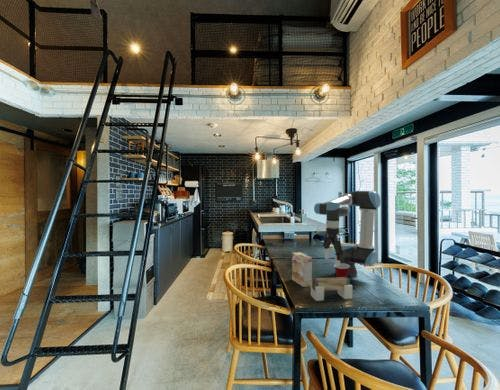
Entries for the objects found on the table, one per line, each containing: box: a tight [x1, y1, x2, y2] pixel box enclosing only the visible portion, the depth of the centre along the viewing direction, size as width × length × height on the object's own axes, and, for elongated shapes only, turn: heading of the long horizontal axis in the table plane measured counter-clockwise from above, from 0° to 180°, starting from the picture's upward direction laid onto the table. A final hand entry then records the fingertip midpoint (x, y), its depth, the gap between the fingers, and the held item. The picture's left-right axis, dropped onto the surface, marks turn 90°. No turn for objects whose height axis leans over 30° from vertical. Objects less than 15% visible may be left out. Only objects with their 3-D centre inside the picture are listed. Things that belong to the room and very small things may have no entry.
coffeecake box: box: [291, 251, 313, 288], centre depth 172 cm, size 15×7×20 cm, turn 21°
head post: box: [310, 282, 325, 302], centre depth 149 cm, size 8×5×8 cm, turn 9°
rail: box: [312, 276, 351, 292], centre depth 150 cm, size 4×22×6 cm, turn 99°
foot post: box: [337, 284, 353, 300], centre depth 151 cm, size 8×5×8 cm, turn 9°
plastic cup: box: [333, 263, 350, 278], centre depth 175 cm, size 11×11×12 cm
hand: (331, 262), depth 150 cm, fingers open, 13 cm apart
